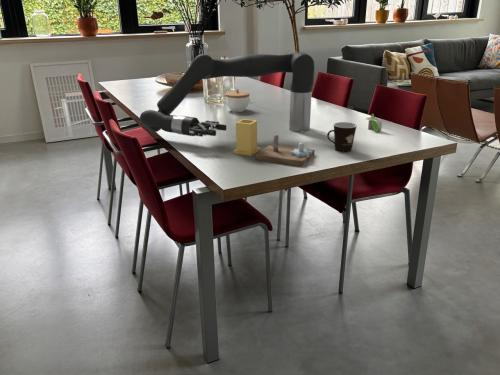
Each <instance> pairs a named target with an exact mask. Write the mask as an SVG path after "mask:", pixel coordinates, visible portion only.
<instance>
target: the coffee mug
mask: <svg viewBox="0 0 500 375" xmlns="http://www.w3.org/2000/svg"><path fill="white" fill-rule="evenodd" d="M356 131H357V124H356V123H354V122H353V123H352V122H348V121H347V122H346V121H340V122H334V123H333V129H330V130H329V131H328V132H327V135H326V137H327V140H329V142H331V143H332V144H334V151H336V152H338V153H350V152H352V149H353V144H354V141H355V140H354V139H355V135H356ZM331 133H333V137H334V140H332V139H331V138H330V134H331Z"/></svg>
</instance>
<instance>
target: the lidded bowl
mask: <svg viewBox="0 0 500 375" xmlns="http://www.w3.org/2000/svg"><path fill="white" fill-rule="evenodd" d="M224 95H225V103H226V106H227V108H228V109H229V110H230V112H234V113H241V112H245V110H246V109H247V108H248V107H249V104H250V95H251V94H250V92H249V91H245V90H239V89H238V88H237V89H235V90H233V91H232V90H230V91H227V92H225V94H224Z"/></svg>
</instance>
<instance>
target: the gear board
mask: <svg viewBox="0 0 500 375" xmlns="http://www.w3.org/2000/svg"><path fill="white" fill-rule="evenodd" d="M272 140H273V144H271V143H270V144H269V145H268V146H267V145H266V147H265V148H263V149H262V150H259V151H258V152H257V153H255V160H257V161H261V162H262V161H263V162H269V163H275V164H276V163H277V164H282V165H283V164H284V165H289V166H296V167H304V166H305V165H306V164H307V163H308V162H309V161H310V160H311V159H312V158H313V157H314V156H315V152H316V151H315V150H316V149H310V148H306V149H307V150H309V151H312V154H310V155H309V157H299V158H298V157H296V156H294V155H291V151H293V149H299V147H294V146H287V145H279V134H273V139H272Z"/></svg>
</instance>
